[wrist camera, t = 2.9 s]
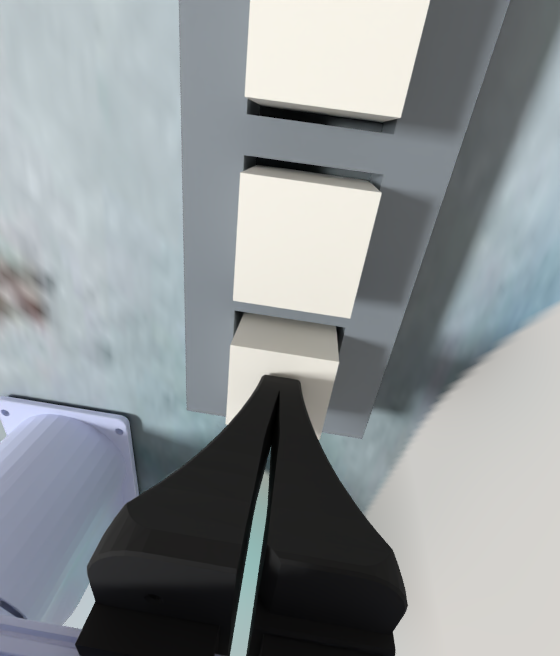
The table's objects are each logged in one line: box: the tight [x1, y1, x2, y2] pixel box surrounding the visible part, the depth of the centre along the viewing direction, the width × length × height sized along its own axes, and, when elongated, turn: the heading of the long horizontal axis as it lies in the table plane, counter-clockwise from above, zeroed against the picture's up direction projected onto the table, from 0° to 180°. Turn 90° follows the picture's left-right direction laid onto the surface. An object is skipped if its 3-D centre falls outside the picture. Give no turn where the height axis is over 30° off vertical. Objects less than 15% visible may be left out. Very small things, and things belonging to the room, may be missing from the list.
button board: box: [179, 0, 510, 439], centre depth 13 cm, size 18×8×2 cm, turn 174°
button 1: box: [226, 312, 339, 440], centre depth 14 cm, size 4×4×3 cm
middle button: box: [233, 165, 382, 319], centre depth 11 cm, size 4×4×3 cm
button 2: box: [245, 0, 430, 122], centre depth 9 cm, size 4×4×3 cm
